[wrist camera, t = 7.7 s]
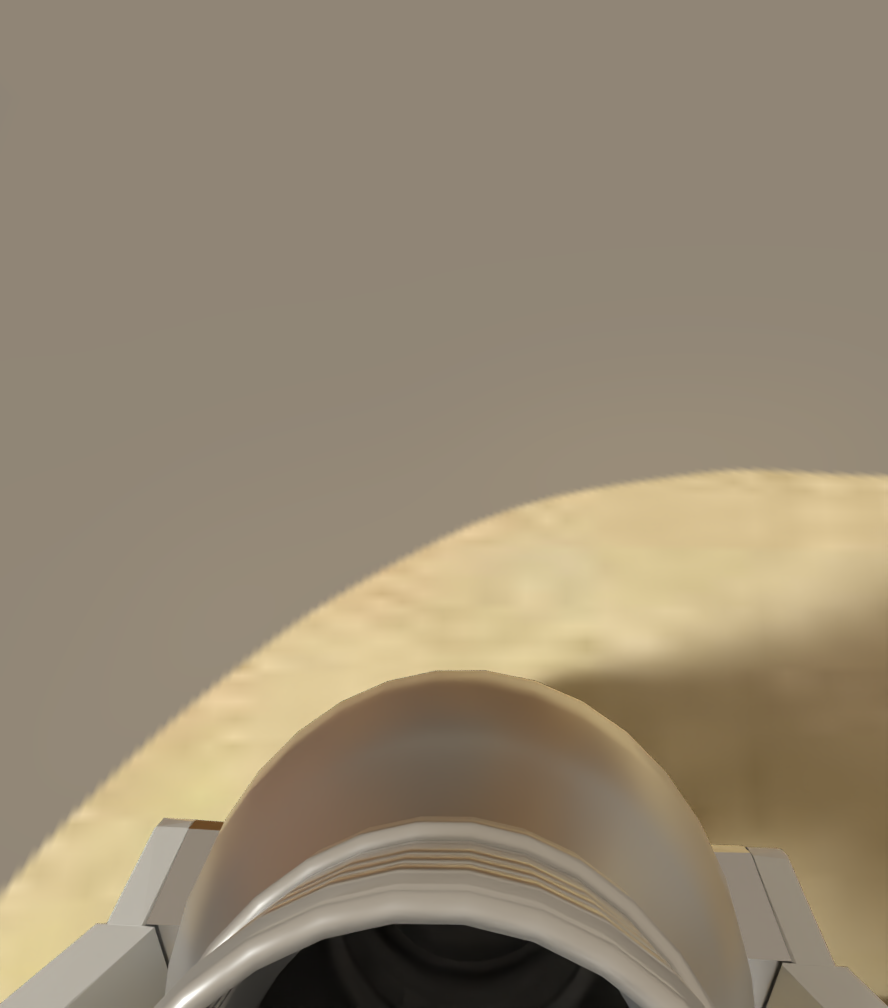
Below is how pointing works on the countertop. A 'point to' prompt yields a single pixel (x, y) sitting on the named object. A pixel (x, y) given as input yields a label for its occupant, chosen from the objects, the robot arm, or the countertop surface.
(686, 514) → the countertop surface
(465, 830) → the silver water bottle
